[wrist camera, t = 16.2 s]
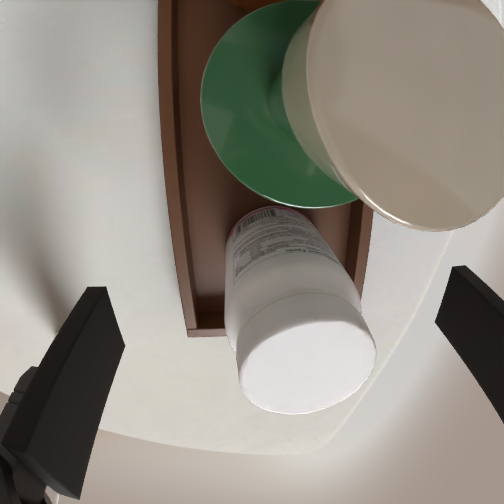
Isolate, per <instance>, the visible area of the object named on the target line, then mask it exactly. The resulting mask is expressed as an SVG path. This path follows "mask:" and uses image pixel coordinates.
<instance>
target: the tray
mask: <svg viewBox="0 0 504 504" xmlns="http://www.w3.org/2000/svg"><path fill="white" fill-rule="evenodd" d="M318 1H322V0H318ZM249 13H251V12H248V11H245V10H242V9H240V8H238V7H236V6H234V5H232V4H231V3H229V2H228V1H227V0H158V86H159V108H160V126H161V140H162V153H163V165H164V176H165V186H166V195H167V204H168V213H169V221H170V229H171V237H172V244H173V251H174V258H175V265H176V272H177V278H178V284H179V291H180V296H181V302H182V308H183V314H184V319H185V325H186V328H187V329H186V330H187V335H188V337H216V336H227V335H226V330H225V321H224V313H225V277H226V263H225V250H226V244H227V240H228V237H229V235H230V233H231V231H232V229H233V228H234V226H235V225H236V224H237V222H238V221H239V220H240V219H241V218H243V217H244V216H245V215H247V214H248V213H250V212H252V211H254V210H256V209H259V208H262V207H267V206H282V207H287V208H291V209H293V210H296V211H298V212H300V213H301V214H303V215H304V216H305V217H307V218H308V219H309V220H310V221H311V222H312V224H313V225H314V226H315V227H316V229H317V230H318V232H319V233H320V235H321V236H322V237H323V239H324V240H325V242H326V243H327V244H328V246H329V247H330V249H331V250H332V252H333V253H334V255H335V256H336V257H337V259H338V260H339V262H340V263H341V265H342V266H343V268H344V269H345V271H346V272H347V274H348V275H349V277H350V278H351V280H352V281H353V283H354V285H355V287H356V289H357V291H358V294H359V297H360V301H361V296H362V290H363V284H364V278H365V272H366V266H367V259H368V252H369V245H370V237H371V229H372V220H373V211H374V210H373V209H372V208H370V207H369V206H368V205H366V204H365V203H364V202H362V201H361V200H360V199H357V200H355V201H352V202H350V203H347V204H344V205H340V206H336V207H331V208H322V209H303V208H297V207H290V206H286V205H283V204H280V203H276V202H274V201H271V200H269V199H267V198H264V197H262V196H260V195H259V194H257V193H255V192H254V191H252V190H250V189H249V188H248V187H246V186H245V185H244V184H242V183H241V182H240V181H239V180H238V179H237V178H236V177H235V176H234V175H233V174H232V173H231V172H230V171H229V170H228V169H227V168H226V167H225V165H224V164H223V163H222V162H221V160H220V159H219V158H218V156H217V154H216V152H215V151H214V149H213V147H212V145H211V143H210V141H209V138H208V136H207V133H206V131H205V127H204V123H203V119H202V113H201V104H200V96H201V83H202V78H203V73H204V70H205V67H206V64H207V61H208V58H209V57H210V55H211V53H212V51H213V49H214V47H215V45H216V44H217V43H218V41H219V40H220V38H221V37H222V36H223V34H224V33H225V32H226V31H227V30H228V29H229V28H230V27H231V26H232V25H233V24H235V23H236V22H237V21H238V20H240V19H241V18H242V17H244V16H245V15H247V14H249Z"/></svg>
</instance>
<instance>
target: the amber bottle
mask: <svg viewBox="0 0 504 504" xmlns="http://www.w3.org/2000/svg"><path fill="white" fill-rule="evenodd" d="M227 1H228V2H229V3H231V4H232V5H234V6H236V7H238V8H240V9H242V10H245V11H248V12H253V11H254V10H256V9H258V8H261V7H264V6H266V5H269V4H272V3H276V2H281V1H286V0H227Z"/></svg>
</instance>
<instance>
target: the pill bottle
mask: <svg viewBox="0 0 504 504" xmlns="http://www.w3.org/2000/svg"><path fill="white" fill-rule="evenodd" d="M225 263H226V277H225V313H224V321H225V330H226V335H227V338H228V341H229V343H230V345H231V347H232V348H233V350H234V352H235V353H236V360H237V366H238V375H239V382H240V386H241V388H242V390H243V392H244V394H245V395H246V397H247V398H248V399H249V400H250V401H252V402H253V403H254V404H255V405H257V406H259V407H261V408H263V409H265V410H268V411H271V412H275V413H282V414H305V413H311V412H315V411H319V410H322V409H325V408H328V407H330V406H332V405H334V404H337V403H339V402H340V401H342V400H344V399H346V398H347V397H349V396H350V395H351V394H353V393H354V392H355V391H356V390H357V389H359V388H360V387H361V385H362V384H363V383H364V382H365V381H366V379H367V378H368V377H369V375H370V373H371V371H372V369H373V367H374V364H375V361H376V346H375V342H374V339H373V337H372V335H371V333H370V331H369V329H368V327H367V325H366V323H365V321H364V319H363V317H362V315H361V301H360V297H359V294H358V291H357V289H356V287H355V285H354V283H353V281H352V280H351V278H350V277H349V275H348V274H347V272H346V271H345V269H344V268H343V266H342V265H341V263H340V262H339V260H338V259H337V257H336V256H335V255H334V253H333V252H332V250H331V249H330V247H329V246H328V244H327V243H326V242H325V240H324V239H323V237H322V236H321V235H320V233H319V232H318V230H317V229H316V227H315V226H314V225H313V224H312V222H311V221H310V220H309V219H308V218H307V217H305V216H304V215H303V214H301V213H300V212H298V211H296V210H293V209H291V208H287V207H282V206H267V207H262V208H259V209H256V210H254V211H252V212H250V213H248V214H247V215H245V216H244V217H243V218H241V219H240V220H239V221H238V222H237V224H236V225H235V226H234V228H233V229H232V231H231V233H230V235H229V237H228V240H227V244H226V250H225Z"/></svg>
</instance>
